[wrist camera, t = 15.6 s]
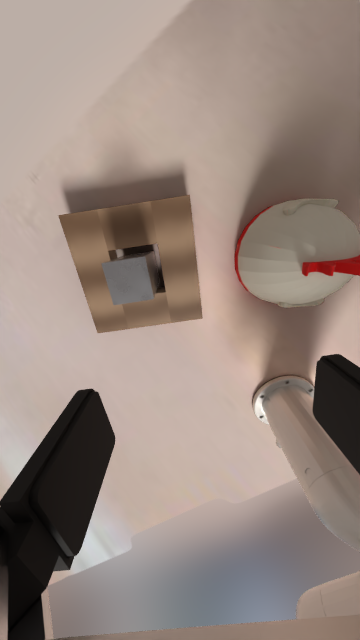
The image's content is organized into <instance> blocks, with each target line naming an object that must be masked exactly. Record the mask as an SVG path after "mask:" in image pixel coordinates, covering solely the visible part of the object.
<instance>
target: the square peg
mask: <svg viewBox="0 0 360 640" xmlns="http://www.w3.org/2000/svg"><path fill="white" fill-rule="evenodd" d="M101 264H102V268H103V271H104V275H105V278H106V281H107V285H108V288H109V292H110V295H111V298H112V302H113V305H119V304H126V303H132V302H139V301H145V300H152V299H154V298H155V295H156V292H157V288H158V285H159V282H160V279H159V274H158V269H157V264H156V258H155V253H154V251H151V252H145V253H138V254H132V255H126V256H122V257H119V258H116V259H113V260H110V261H107V262H104V263H101Z"/></svg>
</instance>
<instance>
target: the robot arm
mask: <svg viewBox="0 0 360 640" xmlns="http://www.w3.org/2000/svg"><path fill="white" fill-rule="evenodd" d="M252 405H253V410H254V413H255V415H256V416H257V418H258V419H259V420H260V421H261V422H263V423H265V424H268V425H270V427H271V429H272V431H273V433H274V435H275V437H276V445H277V446H278V447H279V448H282V450H283V452H284V454H285V456H286V458H287V460H288V462H289V464H290V465H291V467H292V469H293V471H294V473H295V475H296V477H297V479H298V481H299V483H300V485H301V487H302V488H303V490H304V492H305V494H306V496H307V498H308V500H309V502H310V504H311V506H312V508H313V510H314V511H315V513H316V515H317V516H318V518H319V519H320V520H321V522H322V523H323V524H324V525H325V526H326V528H327V529H329V530H330V531H331V532H332V533H333V534H334V535H336V536H337V537H338V538H339V539H340V540H342V541H343V542H345V543H346V544H348V545H349V546H351V547H352V548H354V549H355V550H357V551H358V552H360V367H358V366H357V365H355V364H354V363H352V362H351V361H349V360H348V359H346V358H345V357H343V356H342V355H339V354H334V355H327V356H322V357H321V358H320V360H319V361H318V362H317V366H316V377H315V387H313V386H312V385H311V384H310V382H308V381H307V380H306V379H304V378H302V377H298V376H282V377H278V378H275V379H273V380H271V381H269V382H267V383H266V384H264V385H263V386H262V387H261V388H260V389H259V390H258V391H257V393H256V394H255V396H254V399H253V404H252ZM114 445H115V435H114V432H113V430H112V427H111V424H110V422H109V419H108V416H107V414H106V411H105V409H104V406H103V403H102V401H101V398H100V396H99V393H98V392H95V391H94V390H93V389H85V390H79V391H77V392H76V394H75V395H74V397H73V398H72V399H71V401H70V402H69V404H68V405H67V406H66V408H65V409H64V411H63V412H62V414H61V415H60V416H59V418H58V419H57V421H56V422H55V424H54V425H53V426H52V428H51V429H50V431H49V432H48V434H47V435H46V436H45V438H44V439H43V441H42V442H41V444H40V445H39V446H38V448H37V449H36V451H35V452H34V454H33V455H32V456H31V458H30V459H29V461H28V462H27V464H26V465H25V466H24V468H23V469H22V471H21V472H20V474H19V475H18V476H17V478H16V479H15V481H14V482H13V484H12V485H11V486H10V488H9V489H8V491H7V492H6V494H5V495H4V496H3V498H2V499H1V501H0V506H1V507H0V640H360V570H359V571H358V572H356V573H353V574H350V575H347V576H344V577H342V578H339V579H336V580H333V581H330V582H327V583H324V584H321V585H319V586H316V587H314V588H311V589H309V590H308V591H306V592H305V593H303V594H302V596H301V597H300V598H299V600H298V603H297V607H296V619H295V620H282V621H269V622H255V623H241V624H228V625H216V626H202V627H189V628H177V629H164V630H152V631H139V632H128V633H115V634H103V635H91V636H78V637H68V638H59V639H54V638H53V631H52V622H51V613H50V604H49V596H48V587H47V586H48V583H49V580H50V578H51V575H52V573H53V571H62V570H70V568H71V565H72V562H73V559H74V556H76V555H77V554H78V553H79V551H80V549H81V547H82V544H83V541H84V538H85V535H86V532H87V529H88V525H89V522H90V519H91V516H92V513H93V510H94V507H95V504H96V501H97V498H98V494H99V491H100V488H101V485H102V482H103V479H104V476H105V473H106V470H107V467H108V464H109V460H110V457H111V454H112V451H113V448H114Z"/></svg>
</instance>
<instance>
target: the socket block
mask: <svg viewBox="0 0 360 640" xmlns="http://www.w3.org/2000/svg"><path fill="white" fill-rule="evenodd" d="M58 216H59V219H60V222H61V225H62V228H63V231H64V234H65V237H66V240H67V243H68V246H69V249H70V252H71V255H72V258H73V261H74V264H75V267H76V270H77V273H78V276H79V279H80V282H81V285H82V288H83V291H84V294H85V297H86V300H87V303H88V305H89V308H90V311H91V314H92V317H93V320H94V323H95V326H96V329H97V332H98V333H103V332H110V331H117V330H124V329H131V328H138V327H145V326H152V325H159V324H167V323H174V322H181V321H188V320H195V319H202V308H201V299H200V289H199V280H198V270H197V260H196V251H195V241H194V231H193V222H192V212H191V203H190V195H185V196H179V197H173V198H166V199H160V200H153V201H147V202H141V203H134V204H128V205H122V206H115V207H109V208H102V209H96V210H90V211H83V212H77V213H71V214H64V215H58ZM156 243H158V249H159V255H160V261H161V266H162V272H163V278H164V284H165V287H161V288H157V292H156V295H155V298H154V299H152V300H145V301H139V302H132V303H126V304H119V305H113V302H112V298H111V295H110V292H109V288H108V285H107V281H106V278H105V275H104V271H103V268H102V264H101V263H104V262H107V261H110V260H113V259H116V258H117V254H116V249H123V248H130V247H136V246H143V245H149V244H156Z"/></svg>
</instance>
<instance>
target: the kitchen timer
mask: <svg viewBox="0 0 360 640" xmlns="http://www.w3.org/2000/svg"><path fill="white" fill-rule="evenodd" d="M338 202H339V201H338V200H336V199H298V200H290V201H286V202H283V203H280V204H277V205H274V206H271V207H268V208H267V209H265V210H264V211H262V212H261V213H259V214H258V215H256V216H255V217H254V218H253V219H252V220H251V221H250V223H249V224H248V225H247V226H246V227H245V229H244V230H243V232H242V234H241V236H240V238H239V240H238V243H237V247H236V251H235V270H236V273H237V276H238V279H239V281H240V282H241V284H242V285H243V286H244V288H245V289H246V290H247V291H249V292H250V293H252V294H253V295H255V296H256V297H257V298H259V299H261V300H265V301H268V302H271V303H275V304H278V306H280V307H284V308H292V307H304V306H316V305H320V304H322V303H323V302H324V298H325V297H327V296H328V295H330V294H332V293H334V292H336V291H338V290H339V289H340V288H341V287H343V286H344V285H345V284H346V283H347V282H349V280H350V279H351V278H352V277H353V275H360V233H359V231H358V229H357V227H356V225H355V224H354V223H353V222H352V221H351V220H350V219H349V218H348V217H347V216H346V215H345V214H344V213H343V212H341V211H340V210H338V209H335V207H336V205H337V204H338Z"/></svg>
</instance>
